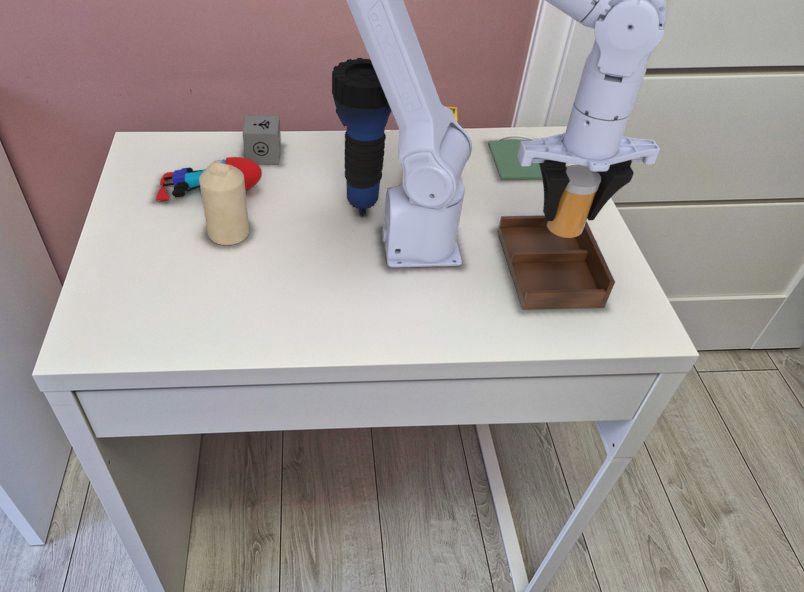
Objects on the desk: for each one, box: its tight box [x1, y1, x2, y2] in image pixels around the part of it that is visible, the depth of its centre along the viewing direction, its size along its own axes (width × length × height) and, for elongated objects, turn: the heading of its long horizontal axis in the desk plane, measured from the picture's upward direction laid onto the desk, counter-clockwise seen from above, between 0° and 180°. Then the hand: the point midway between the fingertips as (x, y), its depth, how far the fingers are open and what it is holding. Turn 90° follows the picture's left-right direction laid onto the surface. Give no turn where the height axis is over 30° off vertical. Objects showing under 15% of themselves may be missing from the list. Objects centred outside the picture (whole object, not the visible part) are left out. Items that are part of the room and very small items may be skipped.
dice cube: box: [241, 115, 282, 165], centre depth 103 cm, size 5×5×5 cm
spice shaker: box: [547, 164, 601, 238], centre depth 79 cm, size 4×4×7 cm
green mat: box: [487, 139, 542, 181], centre depth 105 cm, size 10×10×1 cm
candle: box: [199, 162, 250, 246], centre depth 89 cm, size 6×6×10 cm
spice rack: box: [497, 214, 616, 311], centre depth 87 cm, size 10×15×4 cm, turn 3°
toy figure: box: [155, 156, 263, 202], centre depth 97 cm, size 8×5×15 cm
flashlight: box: [331, 57, 392, 218], centre depth 88 cm, size 8×8×20 cm
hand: (567, 215), depth 80 cm, fingers closed on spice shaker, 4 cm apart
